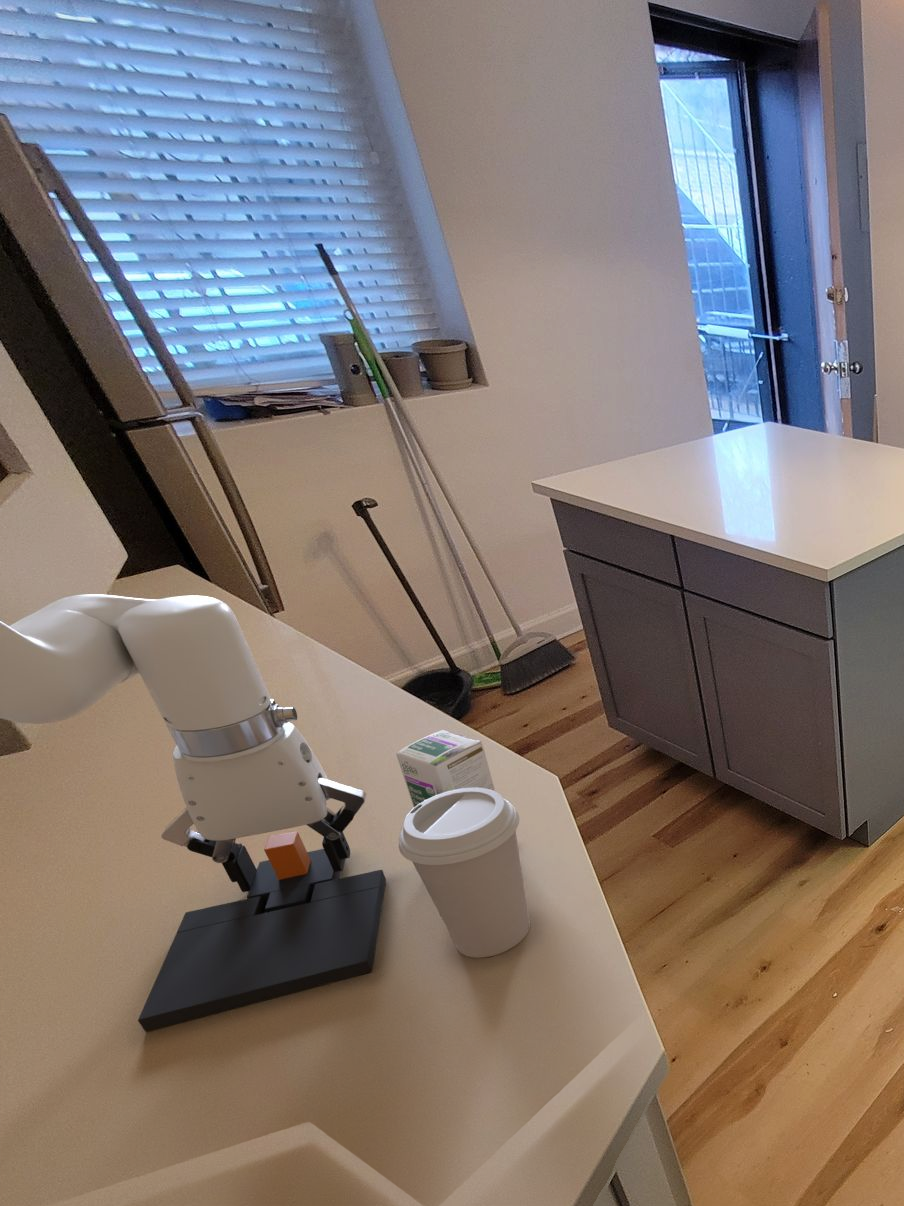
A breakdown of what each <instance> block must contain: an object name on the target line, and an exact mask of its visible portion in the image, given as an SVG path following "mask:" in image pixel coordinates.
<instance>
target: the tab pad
mask: <svg viewBox="0 0 904 1206" xmlns="http://www.w3.org/2000/svg"><path fill="white" fill-rule="evenodd" d="M263 851H264V852H265V855H266V857H267V859H268V860H263V861H259V863H258V865H257V867H256V869H257V871H256V874H255V877H254V880H253V883H252V885H251V888H250V890H249V891H247V895H246V899H249V898H254V897H258V896H261V898H262V900H263V902H264V904H265V906H266V907H265V913H267V912H272V911H276V910H281V909H285V908H289V907H294V906H298V905H303V904H307V903H310V901H311V898H312V894H313V890H314V886H315V884H318V883H322V882H327V881H332V880H336V879H340V874H341V871H339V872H336V871H334V870H333V868H332V866H331V864H330V862H329V859H328V857H327V855H326V853H325V850H324V848H320V849H315V850H310V851H307V848H306V847H305V845H304V842H303V840H302V838H301V836H300V833H299V831H297V830H296V831H290V832H285V833H280V834H274V835H269V836H268V838H267V841H266V844H265V846H264V849H263Z"/></svg>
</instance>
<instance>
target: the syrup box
mask: <svg viewBox="0 0 904 1206" xmlns="http://www.w3.org/2000/svg"><path fill="white" fill-rule="evenodd" d="M395 754H396V757H397V761H398V764H399V767H400V770H401V773H402V776H403V779H404V782H405V785H406V788H407V791H408V794H409V797H410V800H411V803H412V806H413V808H414V807H415V806H417V805H418V804H420V803H421V802H423V801H425V800H427V799H429V798H431V797H433V796H435V795H438V794H441V793H444V792H447V791H451V790H456V789H462V788H485V789H490V790H493V791H495V792H496V789H495V786H494V785H495V784H494V781H493V778H492V775H491V770H490V767H489V764H488V763H489V762H488V760H487V755H486V752H485V748H484V744H483V741H482V740H479V739H474V738H470V737H467V736H464V735H461V734H458V733H454V732H452V731H448V730H445V729H442V730H438V731H436V732H434V733H431V734H428V735H426V736H424V737H422V738H419V739H418V740H415V741H414V742H412V743H410V744H408V745H407V746H405V747H403V748H401V749H400V750H399V751H397V752H396V753H395Z"/></svg>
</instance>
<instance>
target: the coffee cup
mask: <svg viewBox="0 0 904 1206" xmlns="http://www.w3.org/2000/svg"><path fill="white" fill-rule="evenodd" d="M519 824H520V815H519V813H518V811H517V810H516V808H515V806H514V805H513V804H512V803H511V802H510V801H508V799H506V798H504V797H503V795H502V794H500V793H499V792H498V791H496V790H495V791H493V790H490V789H485V788H462V789H456V790H451V791H447V792H444V793H441V794H438V795H435V796H433V797H431V798H429V799H427V800H425V801H423V802H421V803H420V804H418V805H417V806H415V807H414V806H413V808H411V809H410V810H409V812H408V813H407V814H406V815H405V817H404V819H403V823H402V827H401V829H400V833H399V837H398V850H399V853H400V854H401V855H402V856H403V857H404V859H406V860H407V861H410V862H411V863H412V864H413V866H414V868H415V870H416V871H417V873H418V875H419V877H420V879H421V882H422V883H423V885H424V886H425V889H426V891H427V892H428V895H429V896H430V898H431V900H432V902H433V904H434V907H435V908H436V909H437V912H438V914H439V916H440V918H441V920H442V922H443V923H444V926H445V927H446V929H447V932H448V934H449V935H450V937H451V939H452V941H453V942H454V945H455V947H456V948H457V949H456V950H458V952H459V953H461V954H462V955H463V956H466V957H469V958H474V959H475V958H477V959H478V958H480V959H481V958H489V957H494V956H497V955H500V954H503V953H505V952H507V951H509V950H511V949H512V948H514V947H516V946H517V945H518V944H519V943H521V941H523V940H524V938H525V937H526V936H527V935H528V933H529V930H530V928H531V922H530V921H531V920H530V914H529V907H528V902H527V896H526V895H527V894H526V889H525V883H524V877H523V870H522V864H521V856H520V850H519V844H518V836H517V831H516V830H518V827H519Z"/></svg>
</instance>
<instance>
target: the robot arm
mask: <svg viewBox="0 0 904 1206" xmlns="http://www.w3.org/2000/svg"><path fill="white" fill-rule="evenodd" d="M138 675H140V677H141V679H142V681H143V683H144V685H145V687H146V688H147V691H148V692H149V695H150V697H151V698H152V700H153V702H154V704H155V706H156V708H157V710H158V712H159V714H160V716H161V718H162V720H163V722H164V723H165V725H166V727H167V729H168V731H169V733H170V736H171V737H172V739H173V741H174V742H175V746H174V748H173V751H172V762H173V766H174V771H175V775H176V779H177V783H178V786H179V790H180V793H181V797H182V799H183V802H184V804H185V808H184V809H183V810H182V811H181V812H179V814H177V815H176V817H174V818H173V820H171V822H169V823H168V825H166V827H165V828H164V830H163V832H162V833H161V839H162V840H164V841H166V842H168V843H169V842H170V843H172V844H175V845H177V846H180V847H186V848H187V850H188V851H190V852H191V853H192V852H193V853H195V854H199V855H202V856H206V857H210V858H211V860H212V861H213V862H214V863H216V864H221V865H222V866H223V868H224V871H225V872H226V874H227V876H228V878H229V880H230V881H231V883H237V885H238V887H239V889H240V891H241V892H242V893H246V892H247V893H248V892H249V890H250V888H251V885H252V883H253V880H254V877H255V874H256V871H257V867H256V866H255V865H256V864H255V863H254V862H253V859H252V858H251V856H250V853H249V852H248V850H247V848H246V846H245V845H243V843H237V842H236V840H237V839H240V838H246V837H252V836H256V835H261V834H268V833H272V832H276V831H277V832H278V831H282V830H287V829H292V828H293V829H294V828H298V827H302V826H307V827H309V828H310V829H311V830H313V831H314V832H317V834H319V835H321V836H322V837H323V839H322V842H321V845H322V849H324V850H325V853H326V855H327V857H328V859H329V862H330V864H331V866H332V868H333V870H334V871H336V872H339V871H340V872H343V871H344V868H345V863H346V860H347V859H350V857H351V848H350V846H349V843H348V840H347V838H346V836H345V833H344V831H345V829H347V827H348V826H349V825H350V823H351V822H352V821H353V820H354V818H355V816H356V814H357V813H358V812H359V810H361V808H362V806H363V805H364V804H365V801H366V797H367V793H366V791H364V790H362V789H359V788H356V787H353V786H350V785H346V784H342V783H340V782H337V781H333V780H330V779H329V778H328V776H327V774H326V772H325V771H324V768H323V767H322V765H321V763H320V762H319V760H318V758H317V756H316V754H315V753H314V751H313V750H312V748H311V746H310V745H309V743H308V742H307V740H306V739H305V737H304V736H303V735H302V733H301V732H300V731H299V730H298V728H297V727H296V725H294V724H293V723H292V722H293V721H298V713H297V710H296V708H295V707H294V706H290V707H285V706H281V707H280V706H279V705H278V704H277V702H276V700H275V699H274V698H272V697H271V696H270V693H269V691H268V688H267V687H266V684H265V682H264V680H263V679H264V678H263V677H262V674H261V672H260V670H259V667H258V665H257V663H256V661H255V658H254V655H253V653H252V651H251V648H250V647H249V644H248V641H247V640H246V638H245V635H244V633H243V631H242V628H241V625H240V623H239V621H238V619H237V616H236V615H235V613H234V611H233V610H232V608H230V606H229V605H228V604H226V603H225V602H224V601H222V600H220V599H218V598H216V597H211V596H207V595H179V596H178V595H177V596H171V597H164V598H159V599H152V598H151V599H150V598H138V597H130V596H129V597H128V596H120V595H112V594H100V593H99V594H98V593H91V594H90V593H89V594H88V593H85V594H75V595H70V596H66V597H63V598H60V599H57V600H55V601H53V602H50V603H49V604H47V605H45V606H43V607H41V608H40V609H38V610H36V611H34V612H33V613H31V614H29V615H27V616H25V617H23V618H21V619H19V620H17V621H16V622H13V623H12V624H10V625H8V624H6V623H5V622H3V621H1V620H0V719H1V720H6V721H10V722H13V723H14V722H15V723H20V724H28V725H29V724H30V725H43V724H54V723H58V722H61V721H65V720H68V719H71V718H73V717H76V716H78V715H80V714H81V713H83V712H84V711H86V710H87V709H89V708H90V707H91V706H93V705H94V704H96V703H97V702H98V701H99V700H100V699H102V698H103V697H105V696H106V695H107V694H108V693H110V692H111V691H112V690H113V689H115V688H116V687H118V685H120V684H122V683H124V682H126V681H128V680H130V679H132V678H135V677H137V676H138ZM328 800H336V801H339V802H341V803H344V804H343V805H342V806H341V807H340V808H339V810H337V812H334V811H333V810H332V809H330V808H329V807H327V801H328ZM193 825H194V827H195V828H196V831H197V832H196V831H195V830H194V829H192V828H191V827H192V826H193Z"/></svg>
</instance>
